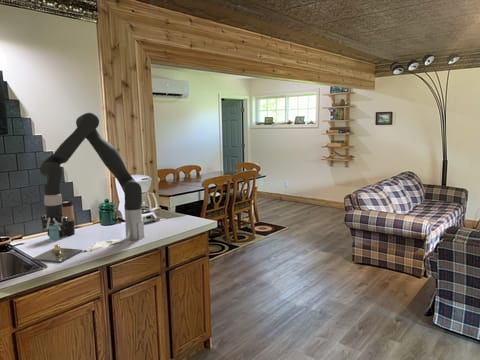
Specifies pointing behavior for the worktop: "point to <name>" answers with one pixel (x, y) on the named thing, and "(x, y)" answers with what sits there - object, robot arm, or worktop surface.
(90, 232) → the worktop surface
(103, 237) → the worktop surface
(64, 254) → the plate
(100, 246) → the cloth
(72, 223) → the travel mug
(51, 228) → the teal cap
